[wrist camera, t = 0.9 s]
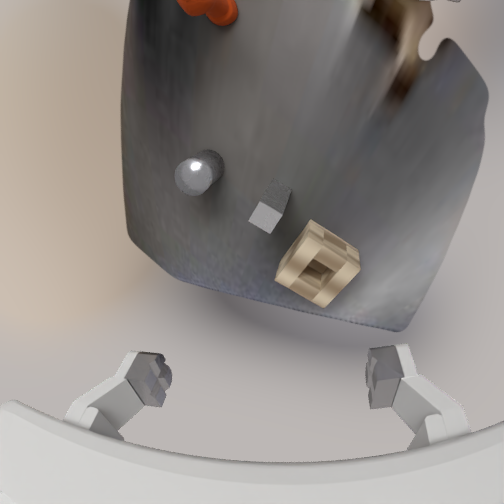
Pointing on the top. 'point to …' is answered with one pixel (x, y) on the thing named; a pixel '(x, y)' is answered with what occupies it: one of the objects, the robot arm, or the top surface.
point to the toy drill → (212, 10)
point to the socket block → (318, 265)
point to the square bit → (271, 206)
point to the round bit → (199, 172)
